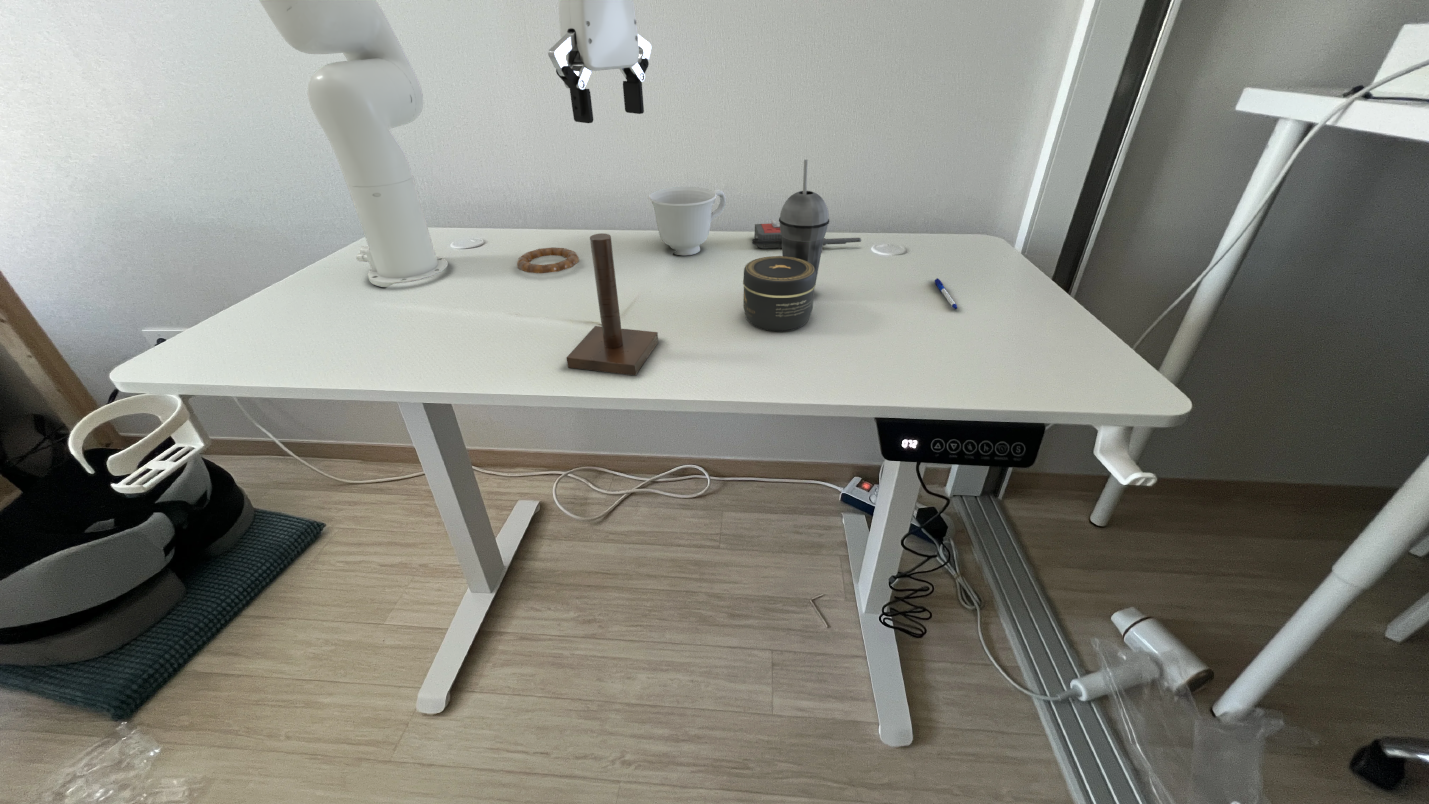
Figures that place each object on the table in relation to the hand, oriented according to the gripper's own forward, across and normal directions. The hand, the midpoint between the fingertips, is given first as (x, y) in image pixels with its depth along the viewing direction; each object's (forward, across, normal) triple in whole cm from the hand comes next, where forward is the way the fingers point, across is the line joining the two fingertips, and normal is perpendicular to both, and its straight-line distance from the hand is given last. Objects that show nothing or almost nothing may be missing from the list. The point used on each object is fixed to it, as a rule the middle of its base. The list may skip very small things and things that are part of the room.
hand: (610, 117), depth 81 cm
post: (+25, +17, +15) cm, 34 cm away
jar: (+25, -4, +26) cm, 36 cm away
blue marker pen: (+25, -26, +43) cm, 56 cm away
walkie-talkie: (+25, -34, +13) cm, 44 cm away
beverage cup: (+25, -13, +24) cm, 37 cm away
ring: (+24, +2, -17) cm, 30 cm away
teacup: (+25, -20, -3) cm, 32 cm away
